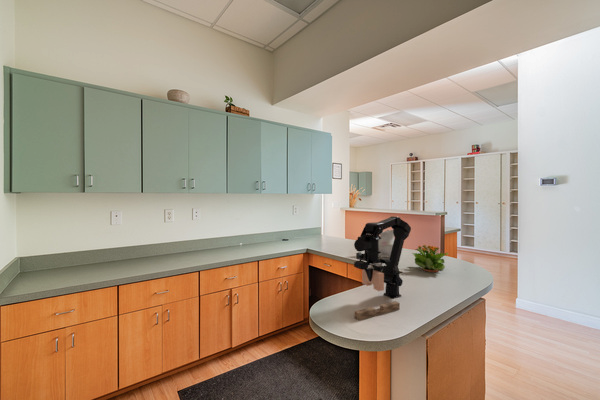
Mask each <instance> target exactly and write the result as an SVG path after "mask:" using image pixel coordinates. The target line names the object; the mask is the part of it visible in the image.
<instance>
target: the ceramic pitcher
mask: <svg viewBox="0 0 600 400" xmlns="http://www.w3.org/2000/svg"><path fill="white" fill-rule="evenodd" d="M379 236H380V237H381V239H379V251H380V252H381V254H379V257H380V258H382V257H384V258H390V255H391V251H392V247H393V243H394V239H395V237H394V234H393V229H391V230H390V229H385V230H383V232H382V233H381V234H380V235H379Z"/></svg>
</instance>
